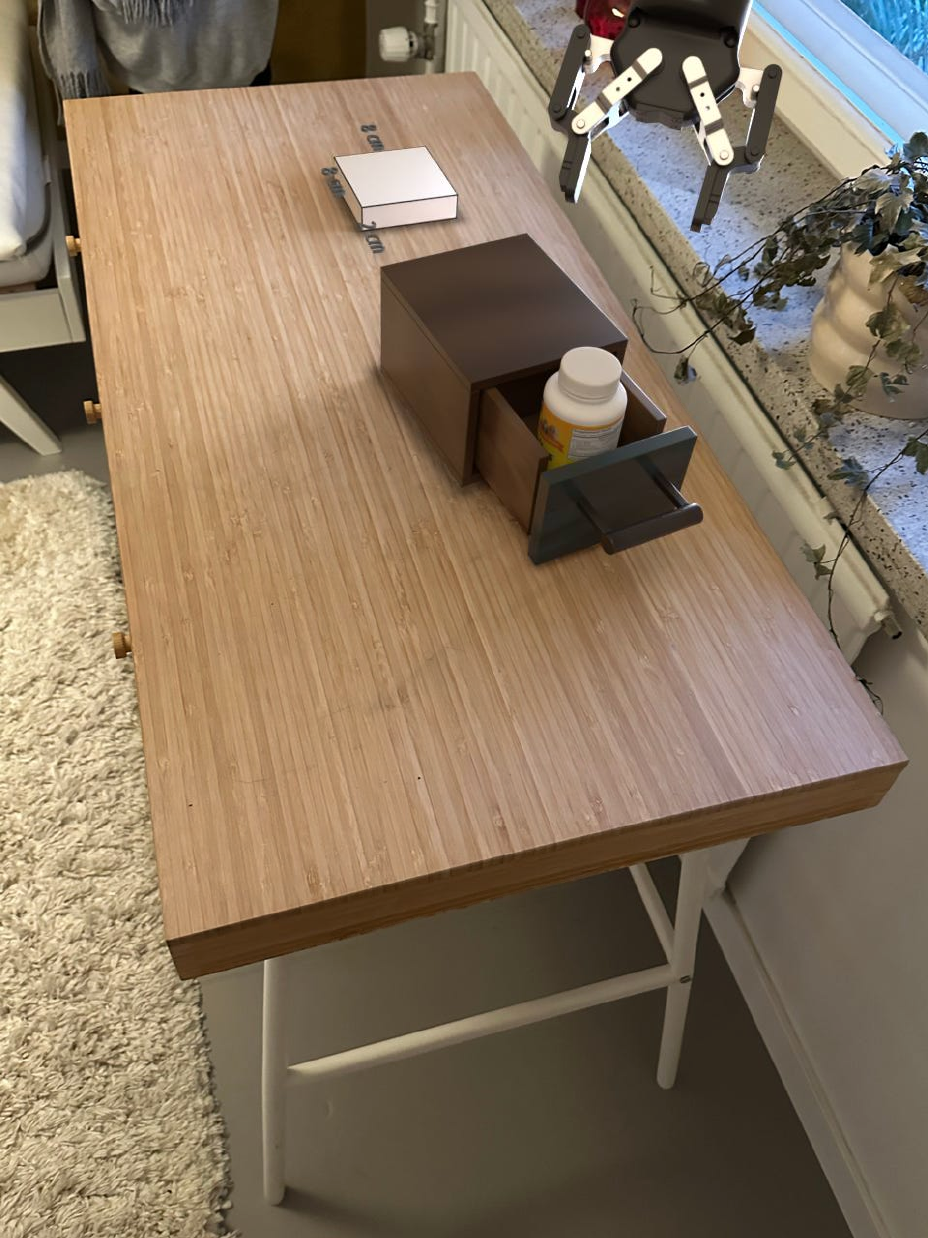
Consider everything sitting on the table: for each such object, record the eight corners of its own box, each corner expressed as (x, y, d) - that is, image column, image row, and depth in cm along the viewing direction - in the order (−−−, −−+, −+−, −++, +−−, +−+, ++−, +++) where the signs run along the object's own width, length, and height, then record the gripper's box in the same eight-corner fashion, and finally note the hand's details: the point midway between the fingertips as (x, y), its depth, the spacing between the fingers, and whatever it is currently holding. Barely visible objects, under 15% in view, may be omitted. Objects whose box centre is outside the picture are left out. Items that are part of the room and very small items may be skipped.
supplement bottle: (527, 452, 75) (545, 336, 67) (602, 454, 75) (628, 338, 67) (533, 506, 72) (552, 391, 64) (611, 508, 72) (640, 393, 64)
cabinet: (605, 441, 79) (628, 338, 72) (461, 487, 75) (470, 383, 68) (514, 335, 87) (527, 232, 80) (380, 371, 83) (379, 266, 75)
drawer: (710, 563, 71) (741, 481, 65) (570, 616, 67) (589, 535, 61) (575, 404, 80) (591, 321, 74) (446, 443, 77) (452, 358, 71)
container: (476, 248, 95) (478, 221, 93) (358, 265, 92) (357, 238, 90) (408, 143, 106) (409, 117, 104) (301, 156, 103) (299, 129, 101)
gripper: (593, -97, 62) (523, 171, 65) (825, -53, 61) (745, 222, 63) (597, -31, 70) (534, 208, 72) (804, 9, 68) (733, 253, 70)
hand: (632, 214), depth 67 cm, fingers open, 8 cm apart
